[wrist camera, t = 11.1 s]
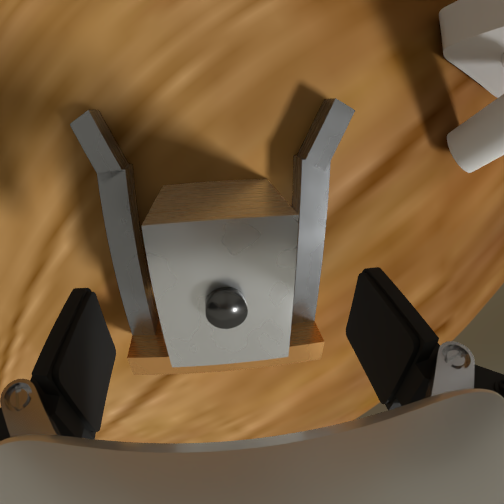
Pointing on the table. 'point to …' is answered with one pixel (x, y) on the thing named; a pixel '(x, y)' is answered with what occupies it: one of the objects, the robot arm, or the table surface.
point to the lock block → (222, 270)
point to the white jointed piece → (477, 76)
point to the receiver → (132, 253)
